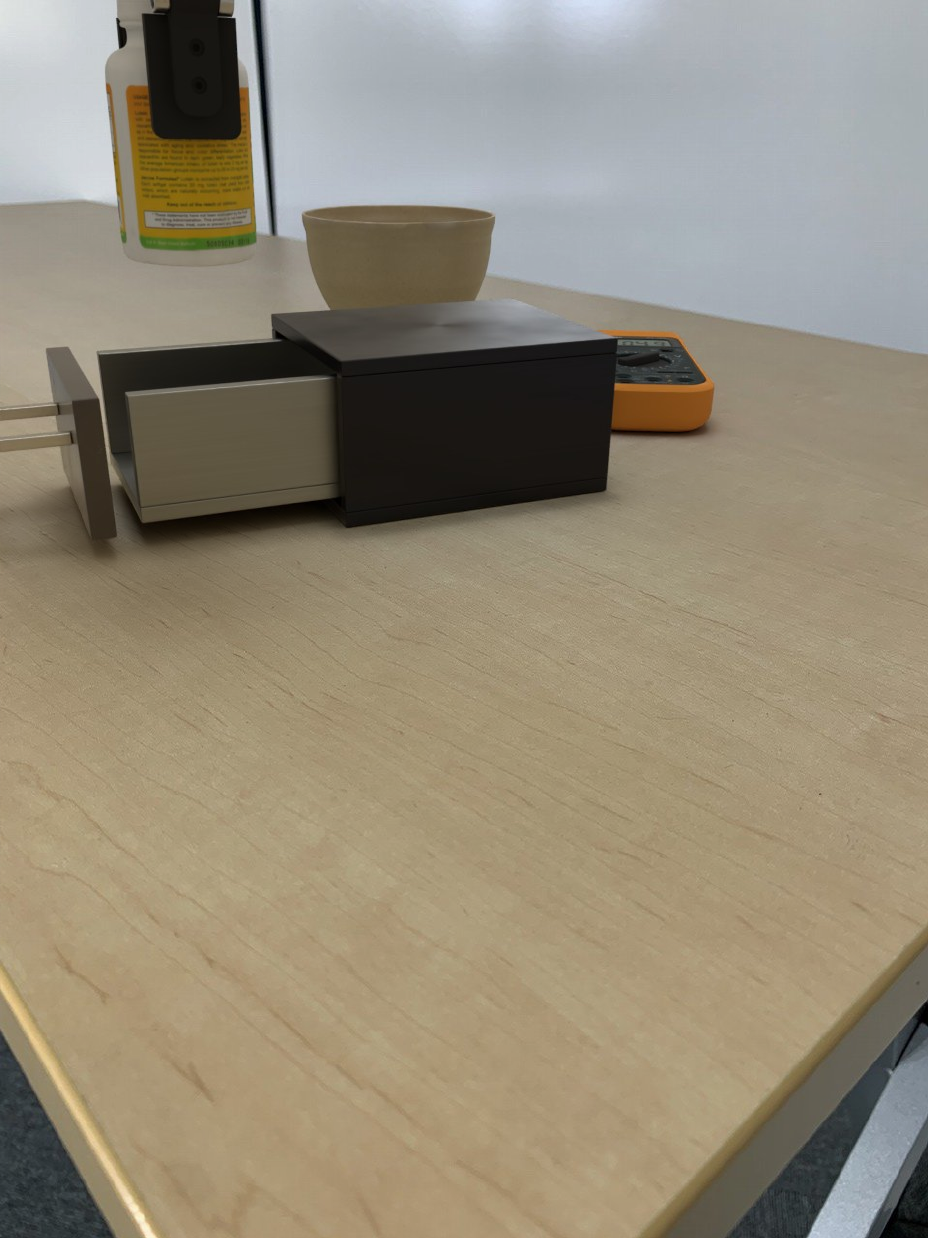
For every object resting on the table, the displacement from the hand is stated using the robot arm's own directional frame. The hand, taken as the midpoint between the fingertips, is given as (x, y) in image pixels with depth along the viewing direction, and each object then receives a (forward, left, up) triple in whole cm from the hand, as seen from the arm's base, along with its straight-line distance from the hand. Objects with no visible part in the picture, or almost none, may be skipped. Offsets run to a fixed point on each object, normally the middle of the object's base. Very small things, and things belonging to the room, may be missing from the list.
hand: (181, 128), depth 43 cm
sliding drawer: (-1, +9, -18) cm, 20 cm away
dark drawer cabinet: (+15, +9, -19) cm, 26 cm away
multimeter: (+35, +19, -19) cm, 44 cm away
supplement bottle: (0, 0, -5) cm, 5 cm away
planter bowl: (+26, +43, -19) cm, 54 cm away
